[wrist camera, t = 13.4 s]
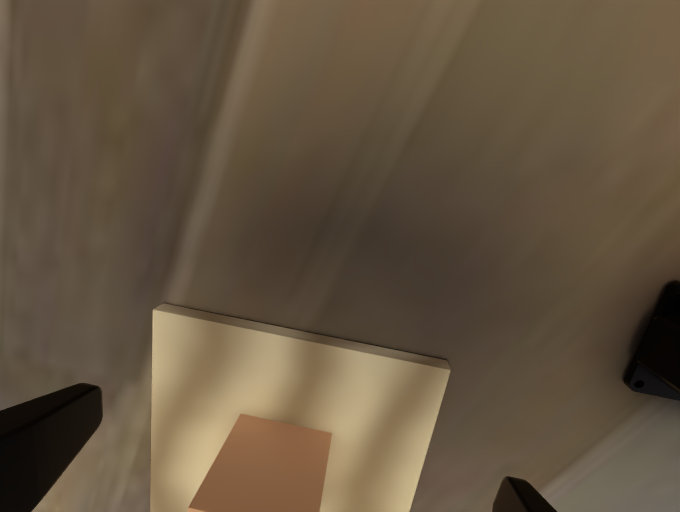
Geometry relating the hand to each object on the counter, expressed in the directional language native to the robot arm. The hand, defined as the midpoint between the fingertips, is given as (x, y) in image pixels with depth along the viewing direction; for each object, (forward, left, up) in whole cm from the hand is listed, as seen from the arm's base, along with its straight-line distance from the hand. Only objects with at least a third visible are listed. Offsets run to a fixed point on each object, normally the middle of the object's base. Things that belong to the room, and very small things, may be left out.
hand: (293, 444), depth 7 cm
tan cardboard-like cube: (+2, +13, -11) cm, 17 cm away
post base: (+2, +13, -12) cm, 18 cm away
